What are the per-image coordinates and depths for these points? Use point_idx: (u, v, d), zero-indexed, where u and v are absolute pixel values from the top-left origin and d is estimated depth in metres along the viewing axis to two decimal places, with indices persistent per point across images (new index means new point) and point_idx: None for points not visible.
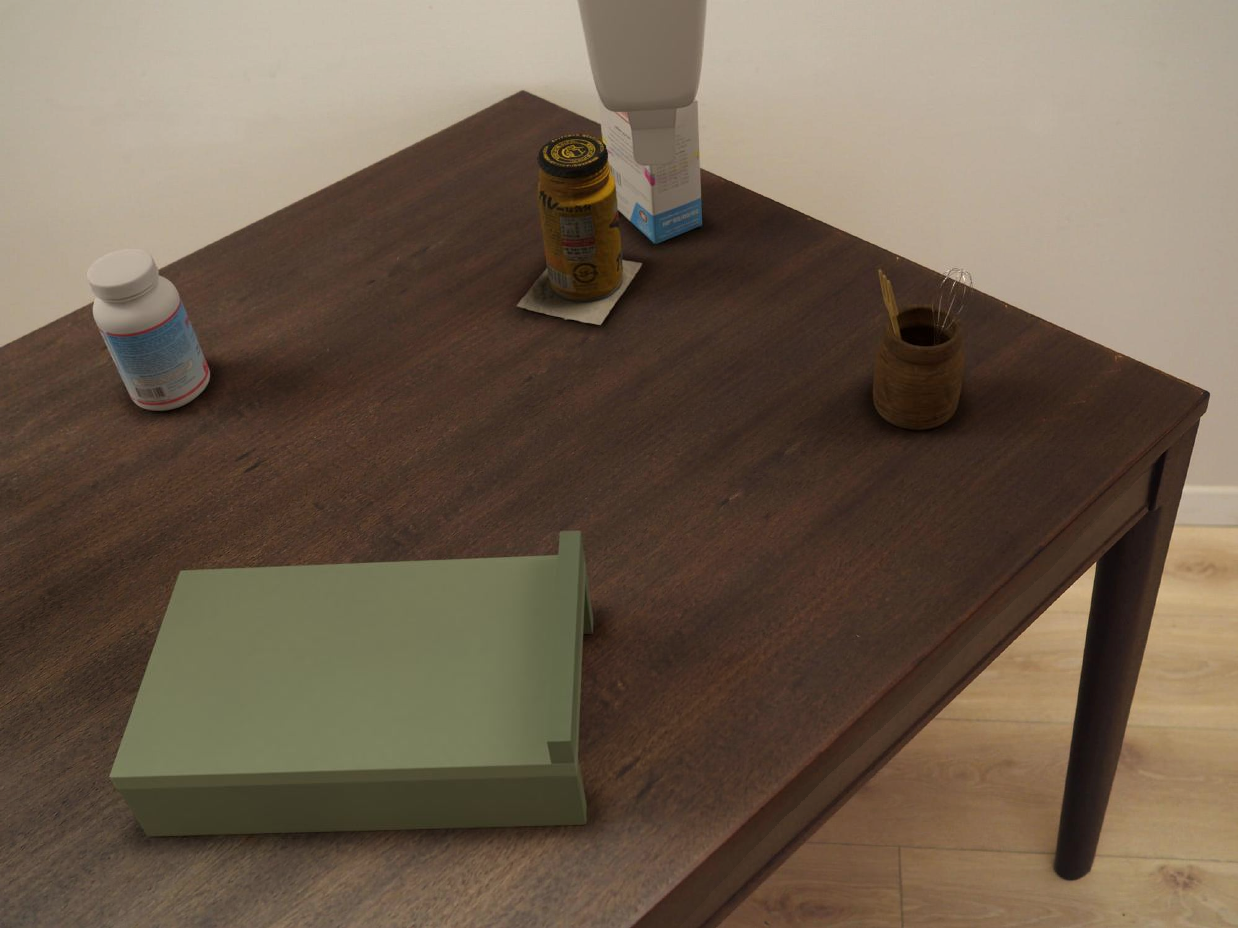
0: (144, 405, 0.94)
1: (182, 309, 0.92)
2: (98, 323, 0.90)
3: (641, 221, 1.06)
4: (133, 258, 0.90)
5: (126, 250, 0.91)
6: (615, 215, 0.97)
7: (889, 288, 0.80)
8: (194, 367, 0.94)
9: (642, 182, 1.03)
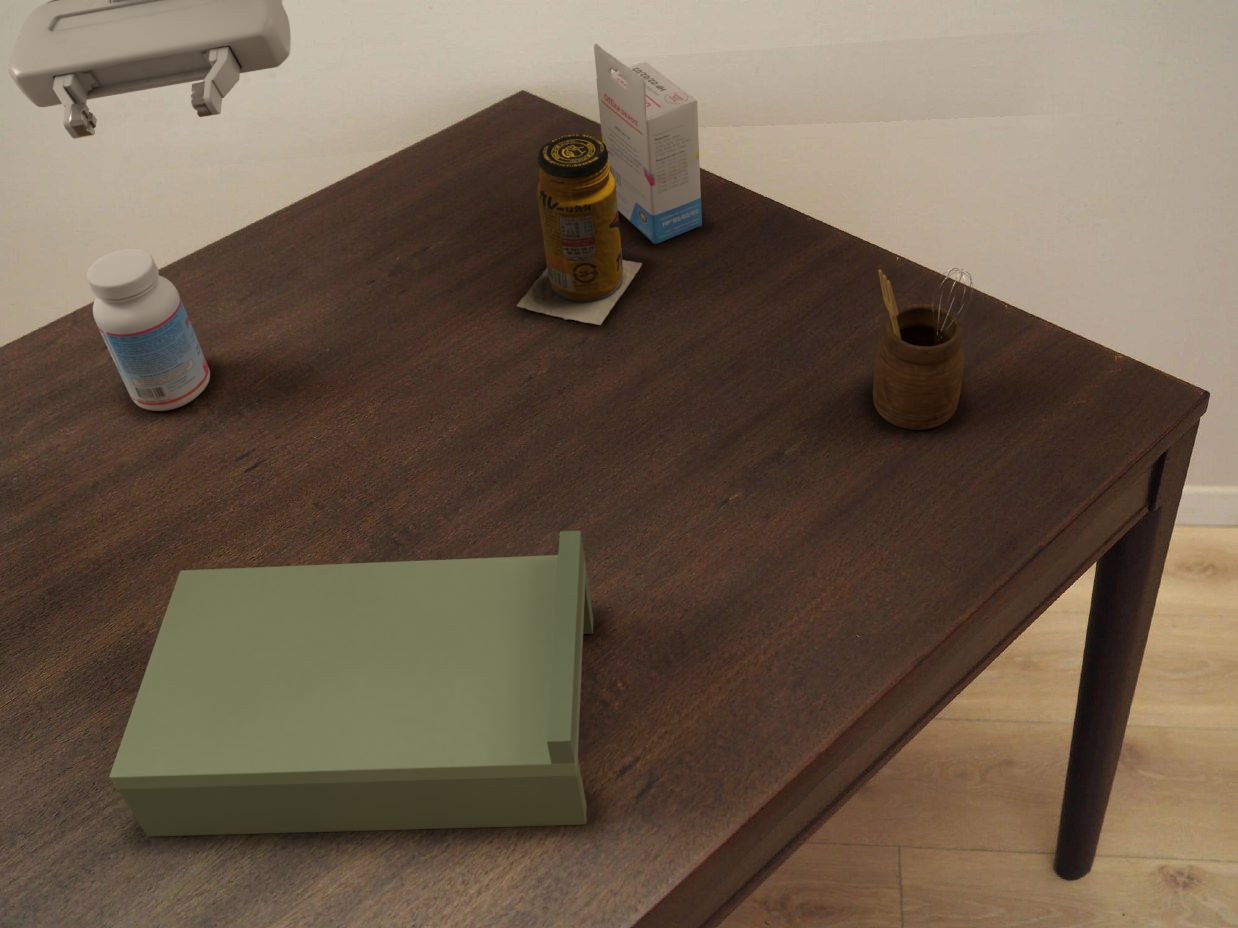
0: (144, 405, 0.94)
1: (182, 309, 0.92)
2: (98, 323, 0.90)
3: (641, 221, 1.06)
4: (133, 258, 0.90)
5: (126, 250, 0.91)
6: (615, 215, 0.97)
7: (889, 288, 0.80)
8: (194, 367, 0.94)
9: (641, 182, 1.03)
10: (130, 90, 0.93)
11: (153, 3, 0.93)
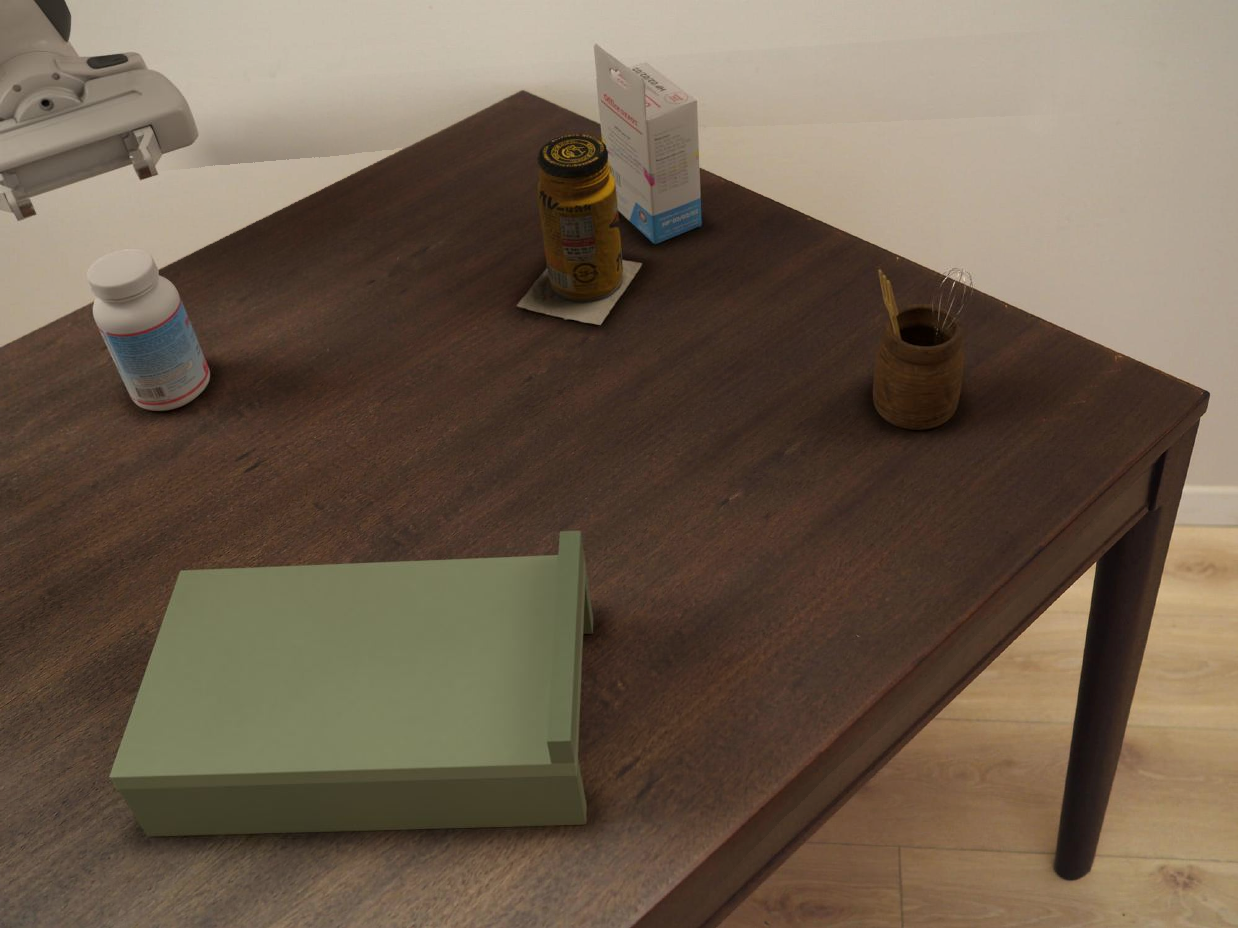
0: (144, 405, 0.94)
1: (182, 309, 0.92)
2: (98, 323, 0.90)
3: (640, 221, 1.06)
4: (133, 258, 0.90)
5: (126, 250, 0.91)
6: (615, 215, 0.97)
7: (889, 288, 0.80)
8: (194, 367, 0.94)
9: (641, 182, 1.02)
10: (54, 186, 1.00)
11: (60, 116, 1.03)
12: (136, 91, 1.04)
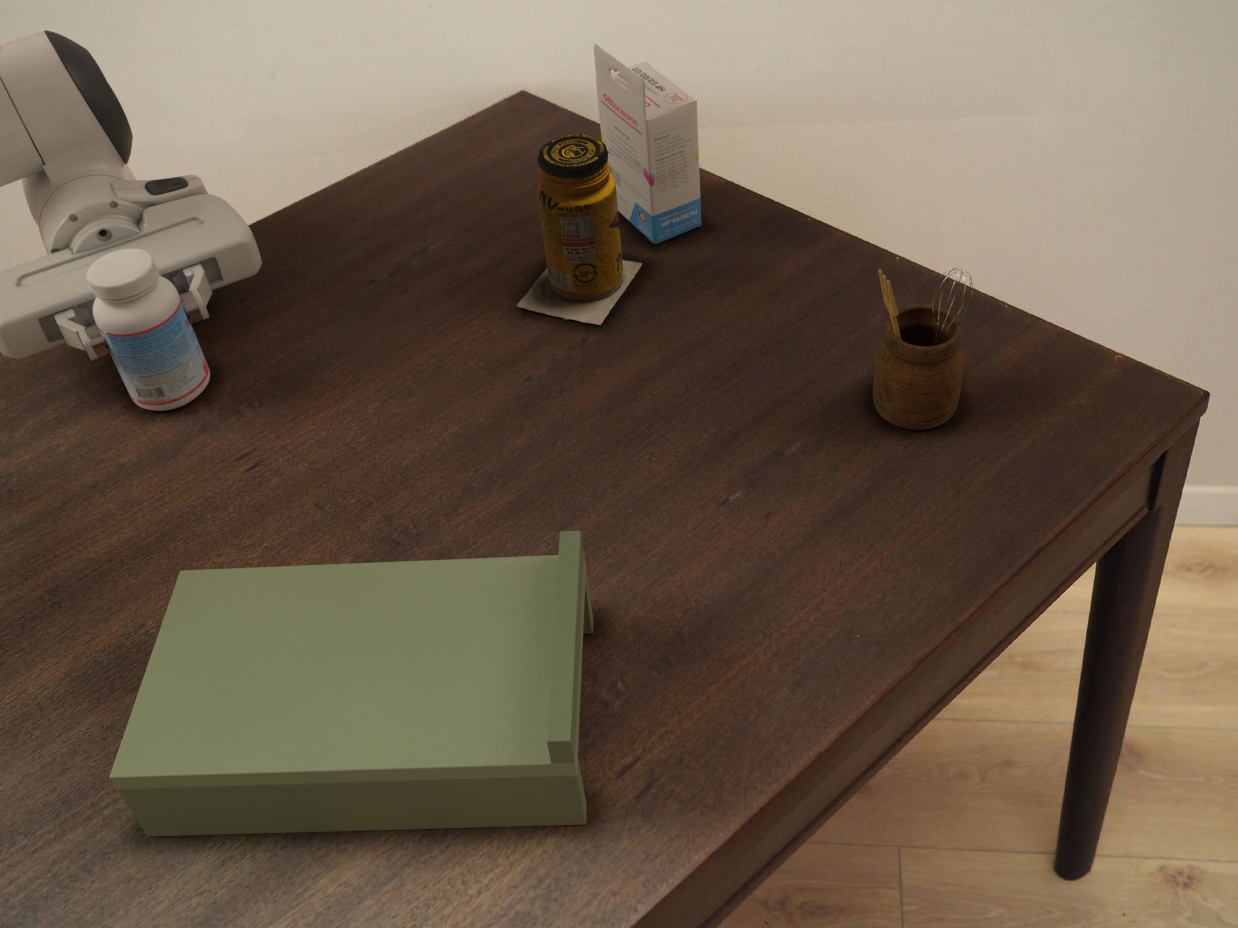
0: (144, 405, 0.94)
1: (182, 309, 0.92)
2: (98, 323, 0.90)
3: (640, 221, 1.06)
4: (133, 258, 0.90)
5: (126, 250, 0.91)
6: (615, 215, 0.97)
7: (889, 288, 0.80)
8: (194, 367, 0.94)
9: (641, 182, 1.02)
10: None
11: (118, 246, 0.98)
12: (197, 218, 1.00)
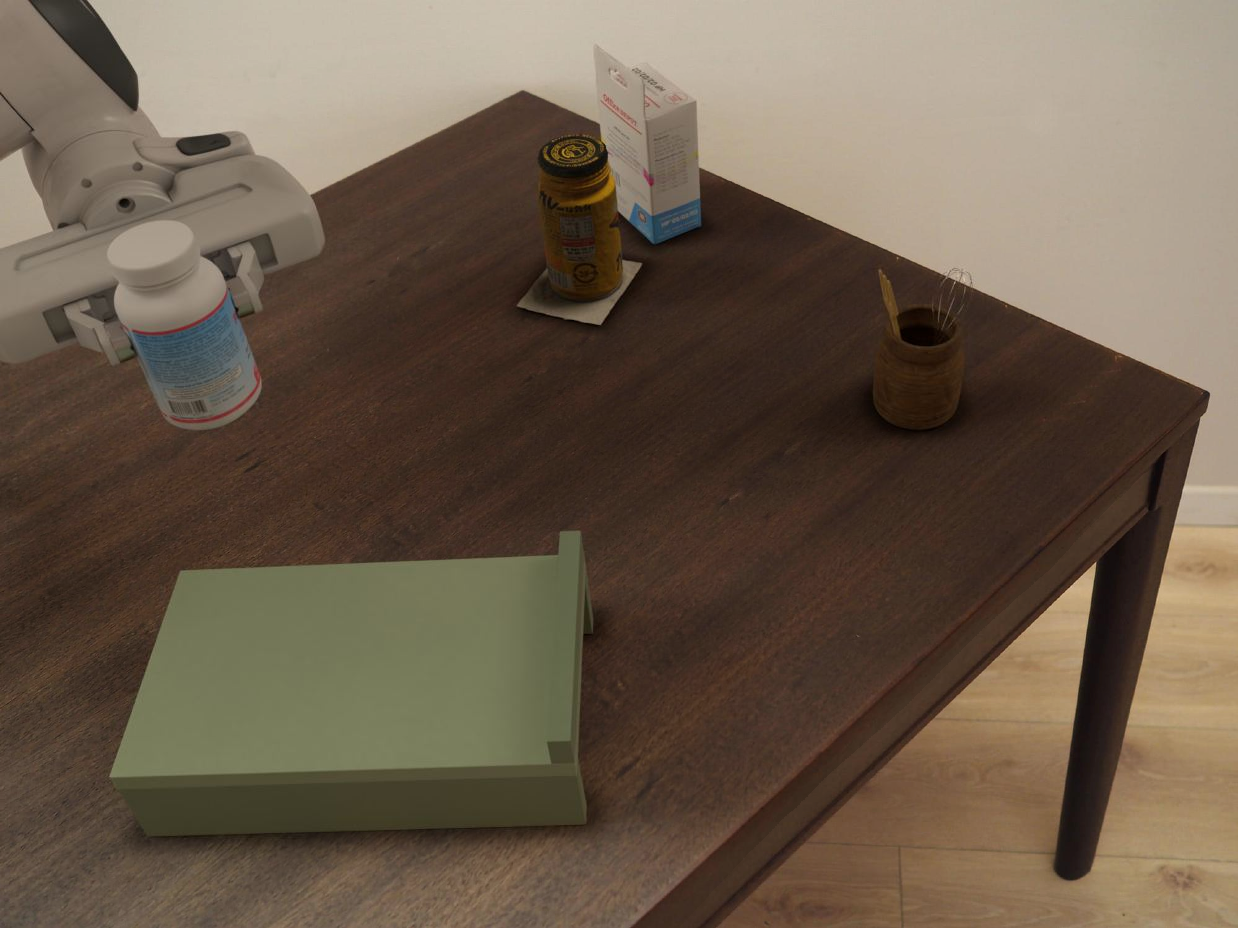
0: (178, 423, 0.73)
1: (229, 299, 0.71)
2: (121, 318, 0.69)
3: (640, 221, 1.06)
4: (167, 233, 0.69)
5: (157, 222, 0.70)
6: (615, 215, 0.97)
7: (889, 288, 0.80)
8: (243, 374, 0.73)
9: (641, 182, 1.02)
10: None
11: (144, 220, 0.77)
12: (243, 185, 0.79)
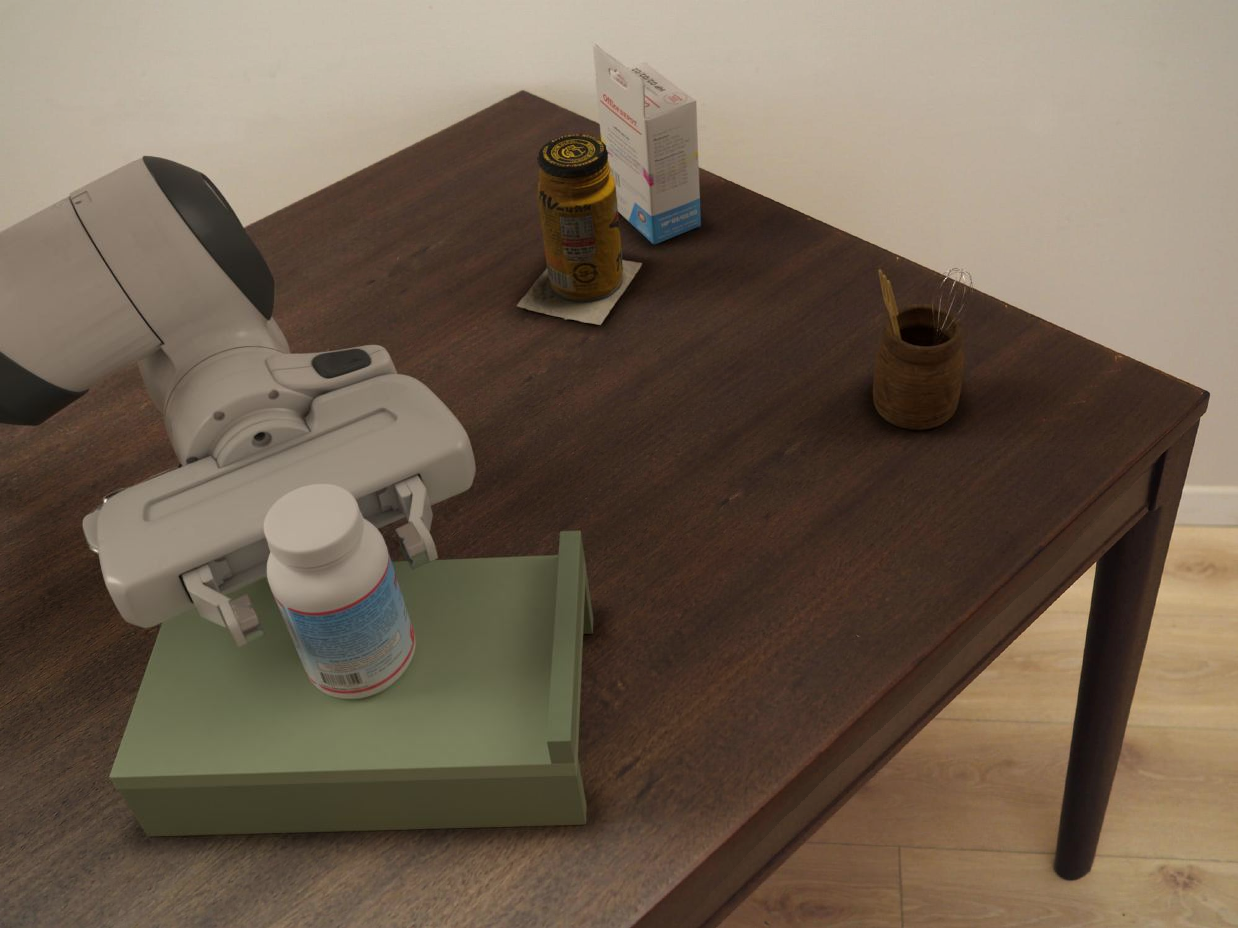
0: (329, 692, 0.67)
1: (390, 565, 0.65)
2: (277, 594, 0.62)
3: (639, 222, 1.06)
4: (328, 501, 0.62)
5: (316, 487, 0.63)
6: (615, 215, 0.97)
7: (889, 288, 0.80)
8: (401, 640, 0.67)
9: (640, 182, 1.02)
10: None
11: (280, 454, 0.70)
12: (386, 409, 0.72)
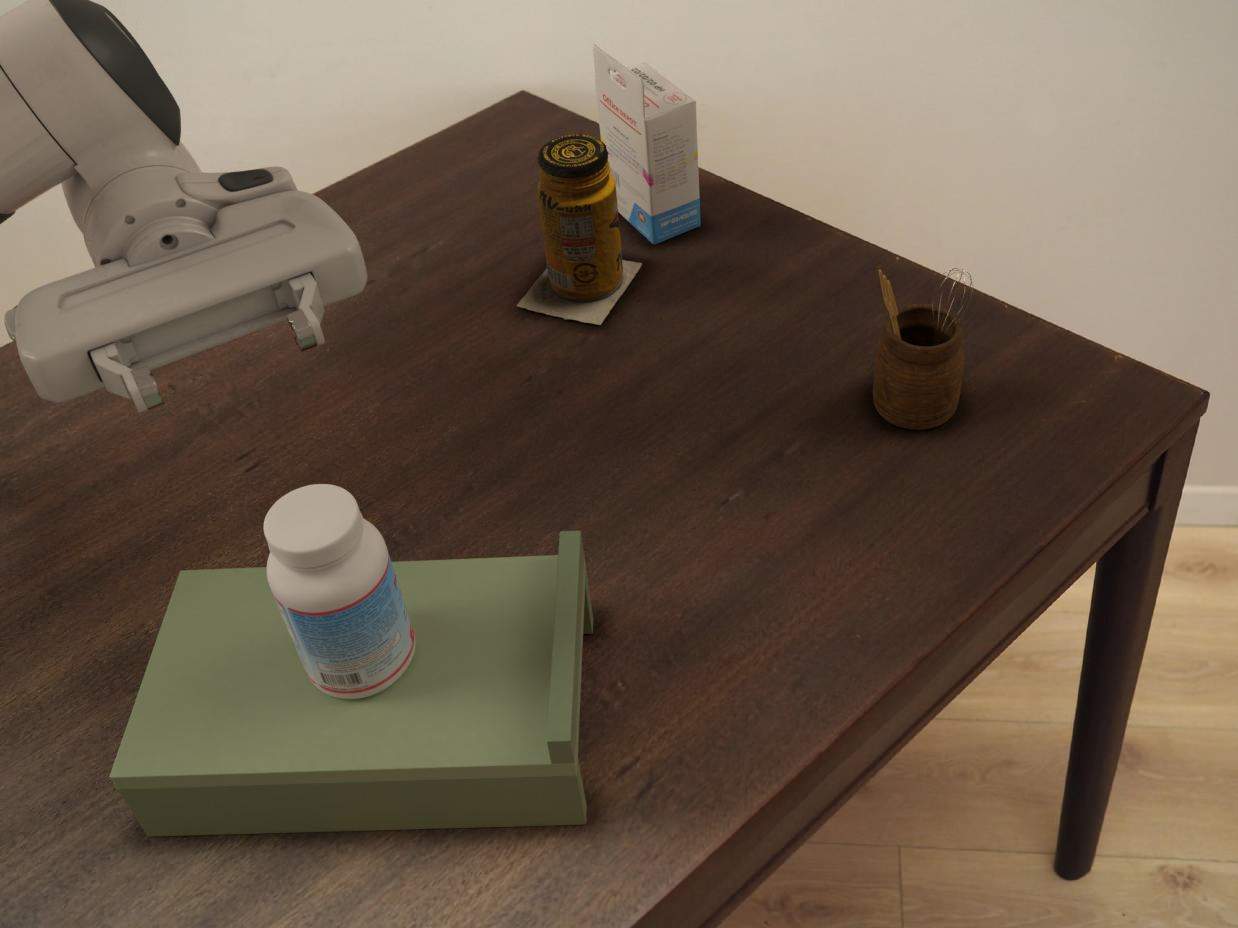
0: (329, 692, 0.67)
1: (390, 565, 0.65)
2: (277, 594, 0.62)
3: (639, 222, 1.06)
4: (328, 502, 0.62)
5: (316, 487, 0.63)
6: (615, 215, 0.97)
7: (889, 288, 0.80)
8: (401, 640, 0.67)
9: (640, 182, 1.02)
10: (181, 356, 0.74)
11: (187, 257, 0.76)
12: (285, 221, 0.78)
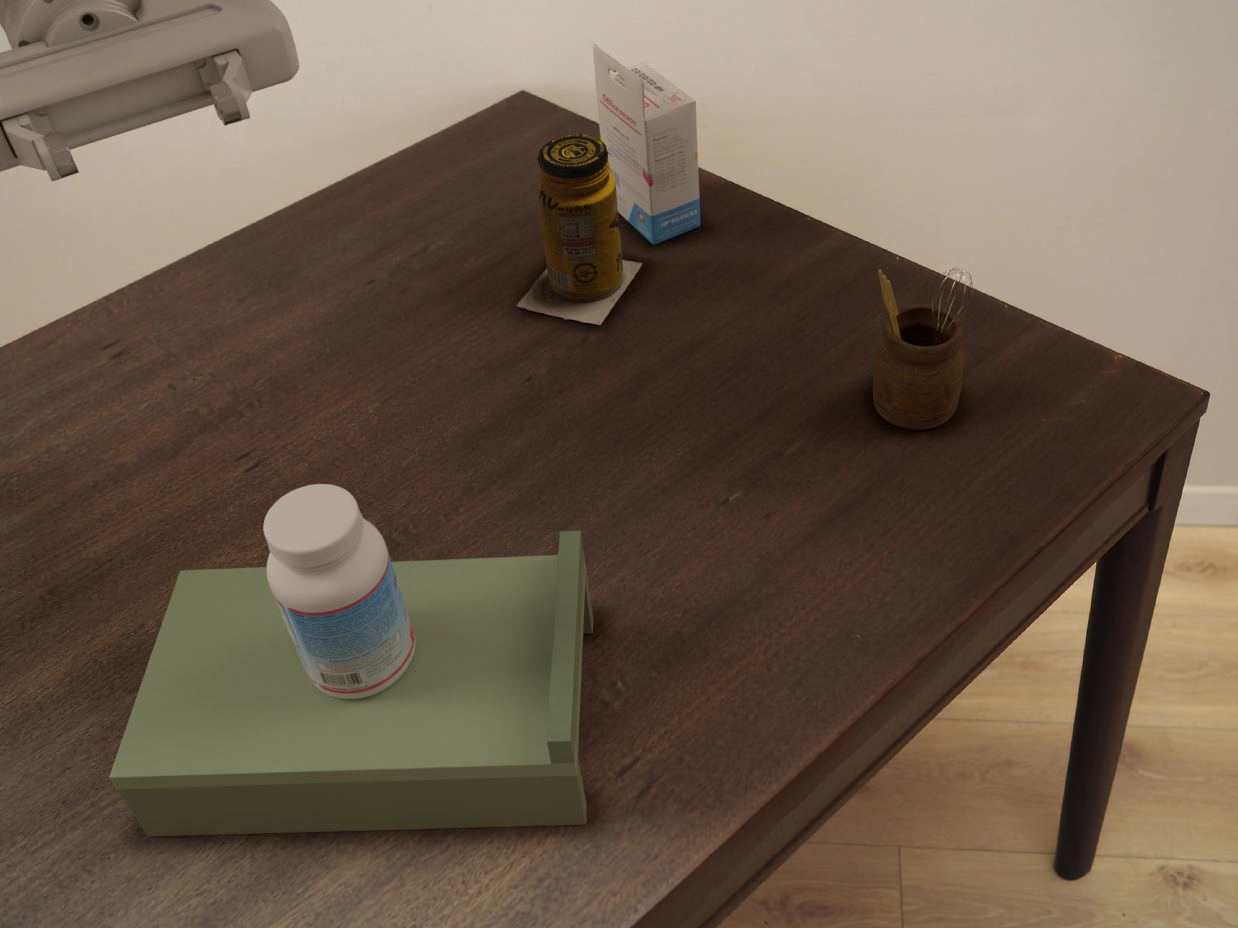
0: (329, 692, 0.67)
1: (390, 565, 0.65)
2: (277, 594, 0.62)
3: (639, 222, 1.06)
4: (328, 502, 0.62)
5: (316, 487, 0.63)
6: (615, 215, 0.97)
7: (889, 288, 0.80)
8: (401, 640, 0.67)
9: (640, 182, 1.02)
10: (101, 135, 0.71)
11: (108, 38, 0.73)
12: (213, 6, 0.75)
